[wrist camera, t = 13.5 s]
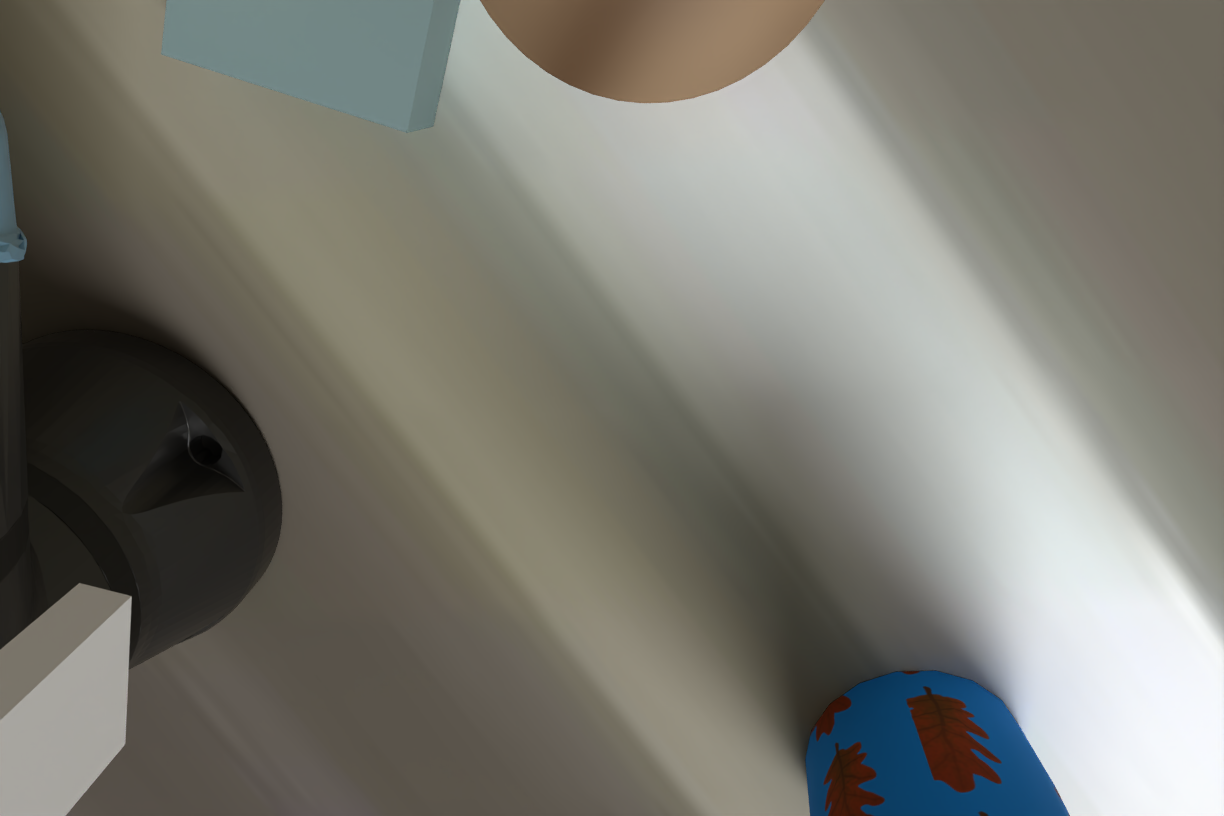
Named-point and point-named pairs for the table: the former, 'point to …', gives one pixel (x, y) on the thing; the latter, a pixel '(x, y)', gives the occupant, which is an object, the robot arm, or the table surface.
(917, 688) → the thermos
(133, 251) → the table surface
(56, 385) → the robot arm
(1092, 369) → the table surface
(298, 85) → the notch board
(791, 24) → the spool
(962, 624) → the table surface
